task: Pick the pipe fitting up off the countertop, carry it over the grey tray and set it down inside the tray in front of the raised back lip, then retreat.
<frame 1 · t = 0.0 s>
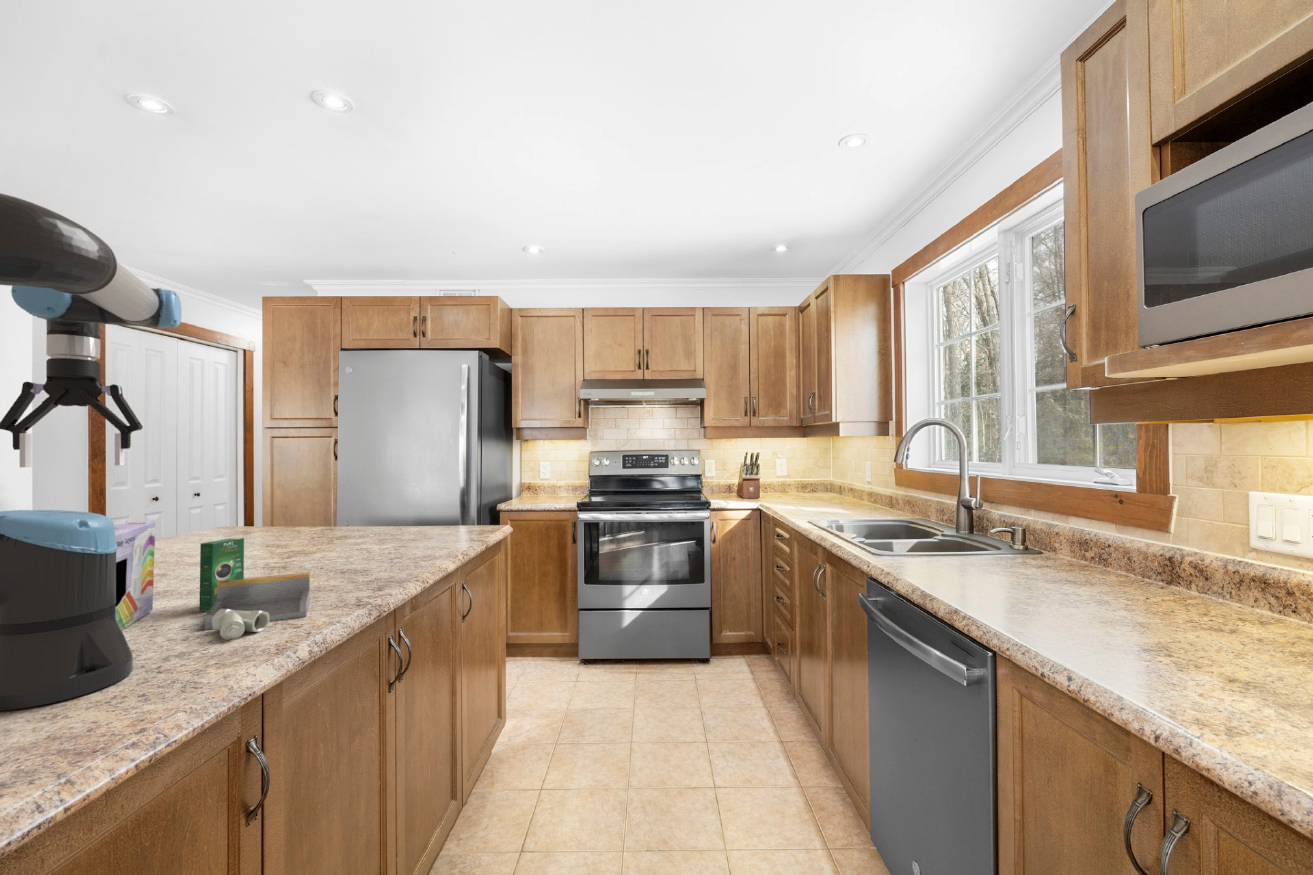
hand: (74, 466, 113), 28 cm above the worktop, tool pointing down, fingers open, 13 cm apart
pipe fitting: (232, 636, 97), on the worktop
cake pan box: (115, 629, 100), on the worktop
coffee box: (222, 606, 114), on the worktop
grey tray: (261, 614, 108), on the worktop
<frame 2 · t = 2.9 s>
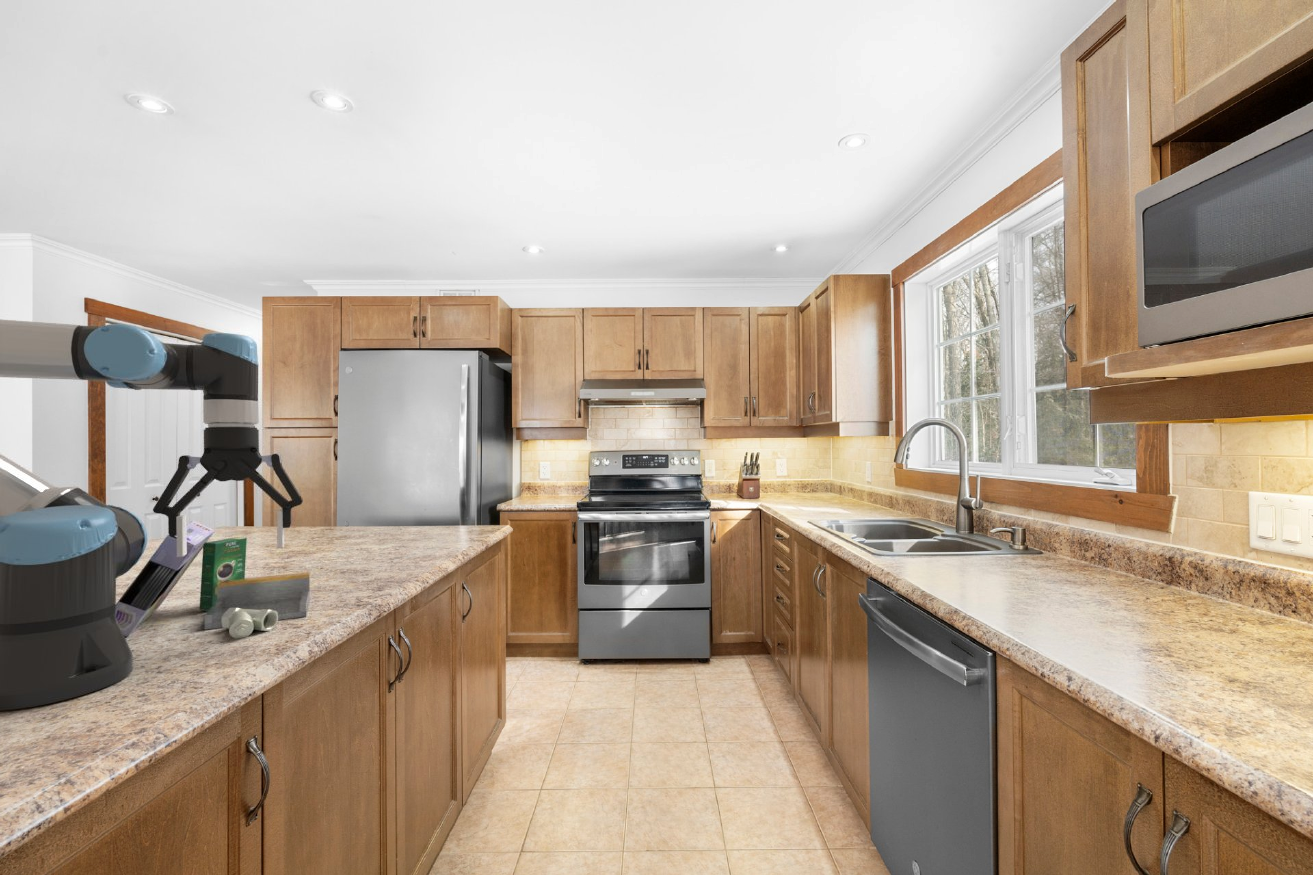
hand: (233, 551, 97), 14 cm above the worktop, tool pointing down, fingers open, 13 cm apart
pipe fitting: (241, 635, 97), on the worktop
cake pan box: (129, 620, 102), point 1 cm above the worktop
everything else where it was.
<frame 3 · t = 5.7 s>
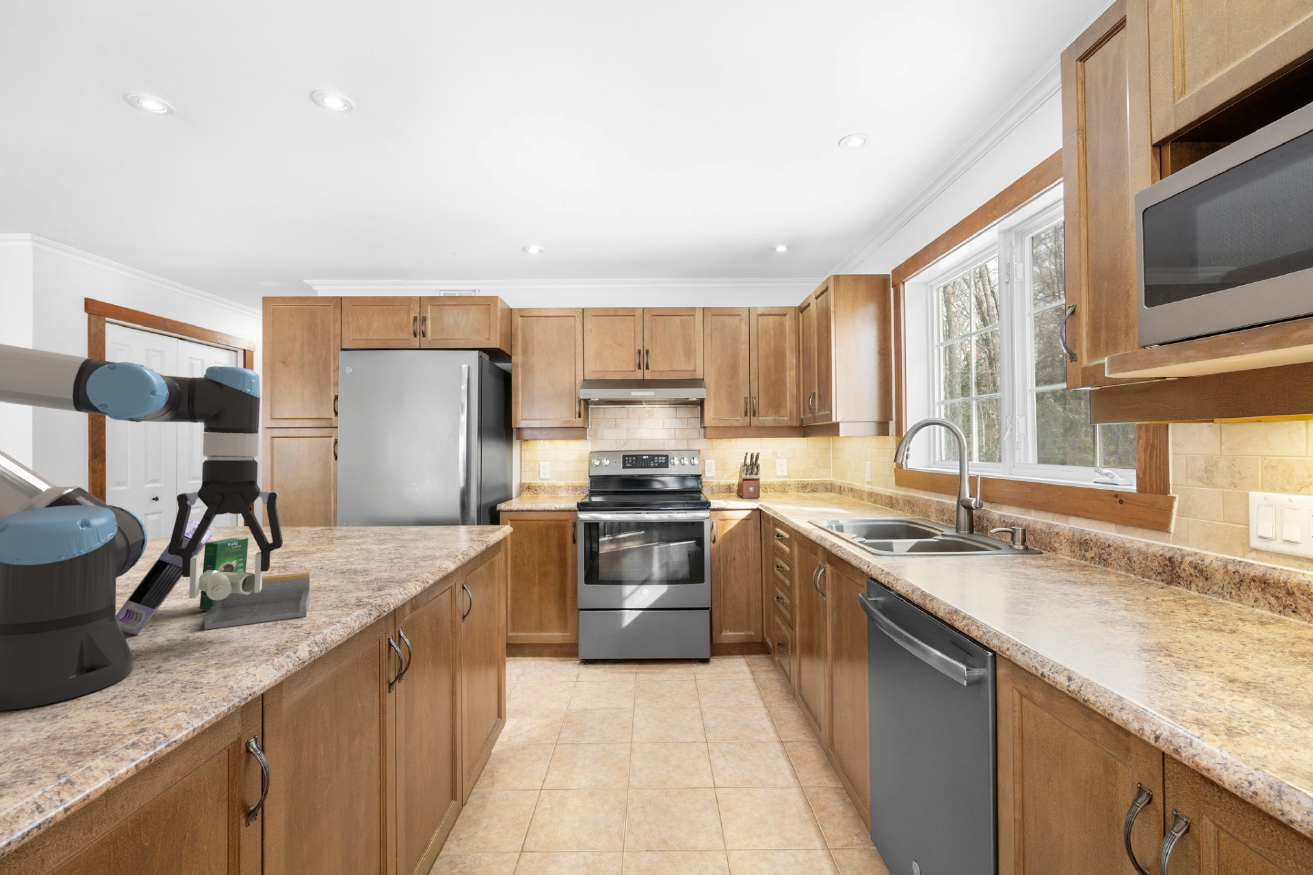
hand: (226, 593, 96), 7 cm above the worktop, tool pointing down, fingers closed on pipe fitting, 8 cm apart
pipe fitting: (218, 597, 95), point 6 cm above the worktop, touching gripper
cake pan box: (134, 620, 102), point 1 cm above the worktop, touching coffee box
coffee box: (222, 605, 114), on the worktop, touching cake pan box
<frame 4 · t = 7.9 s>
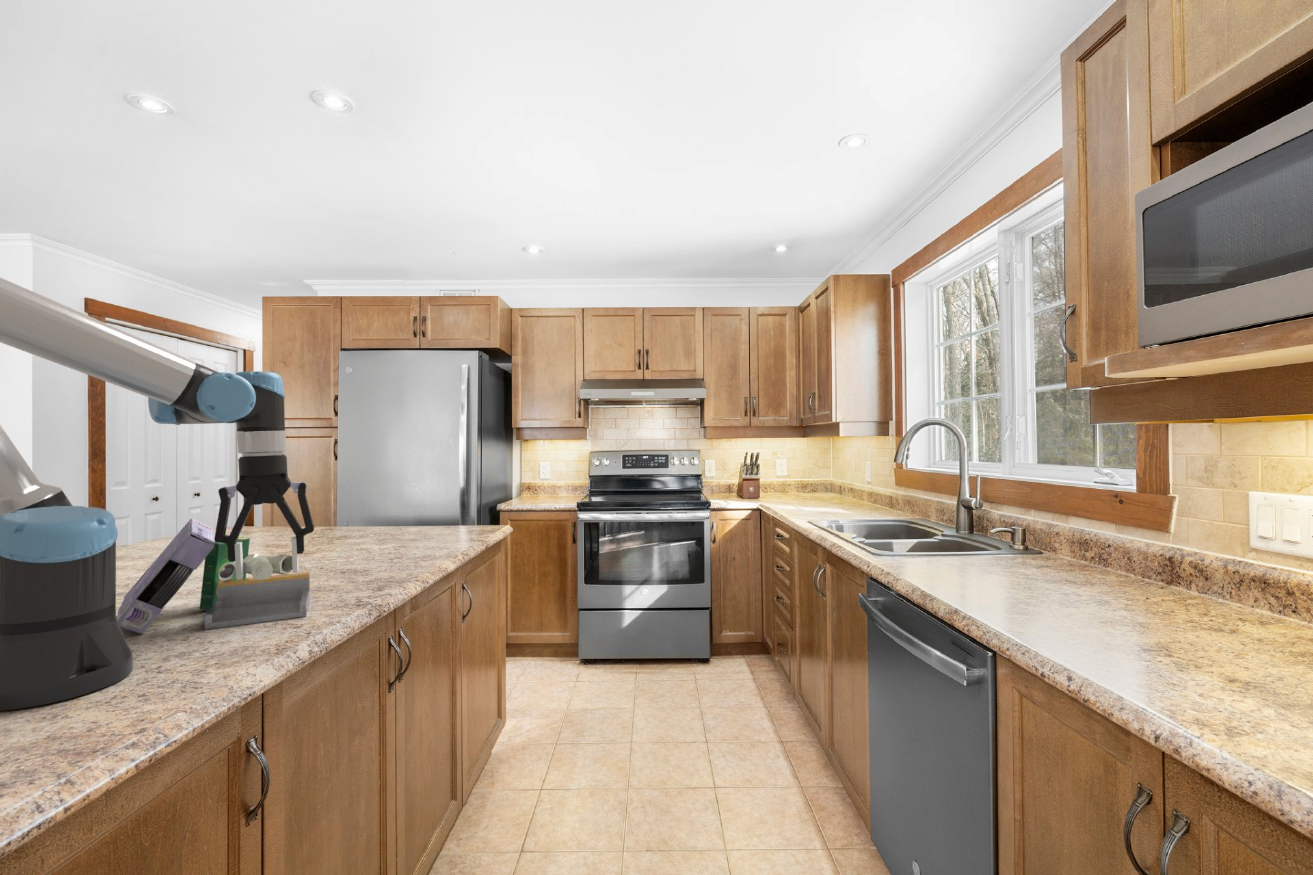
hand: (268, 574, 108), 7 cm above the worktop, tool pointing down, fingers closed on pipe fitting, 8 cm apart
pipe fitting: (261, 577, 107), point 7 cm above the worktop, touching gripper
cake pan box: (132, 618, 102), point 1 cm above the worktop, touching gripper, hand, coffee box
everything else where it was.
when the fingers open (2 cm above the worktop, at t = 9.2 s): pipe fitting drops 1 cm, resting on grey tray.
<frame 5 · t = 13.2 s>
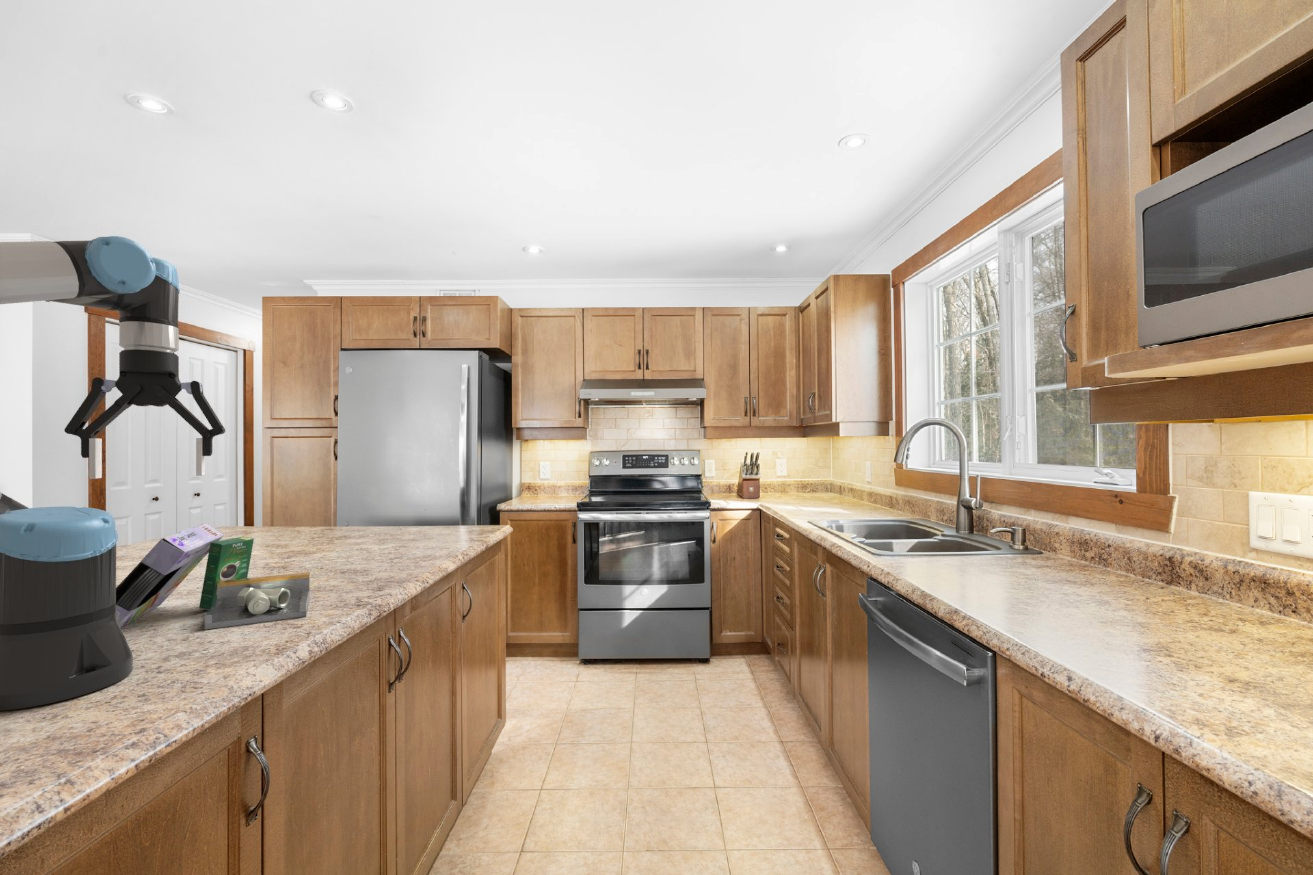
hand: (149, 477, 96), 27 cm above the worktop, tool pointing down, fingers open, 13 cm apart
pipe fitting: (257, 611, 106), point 1 cm above the worktop, touching grey tray
cake pan box: (122, 616, 103), point 1 cm above the worktop, touching coffee box
everything else where it was.
at the end: pipe fitting inside the target area on the grey tray (0.7 cm from its centre), point 0.8 cm above the grey tray's base; the gripper is holding nothing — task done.
